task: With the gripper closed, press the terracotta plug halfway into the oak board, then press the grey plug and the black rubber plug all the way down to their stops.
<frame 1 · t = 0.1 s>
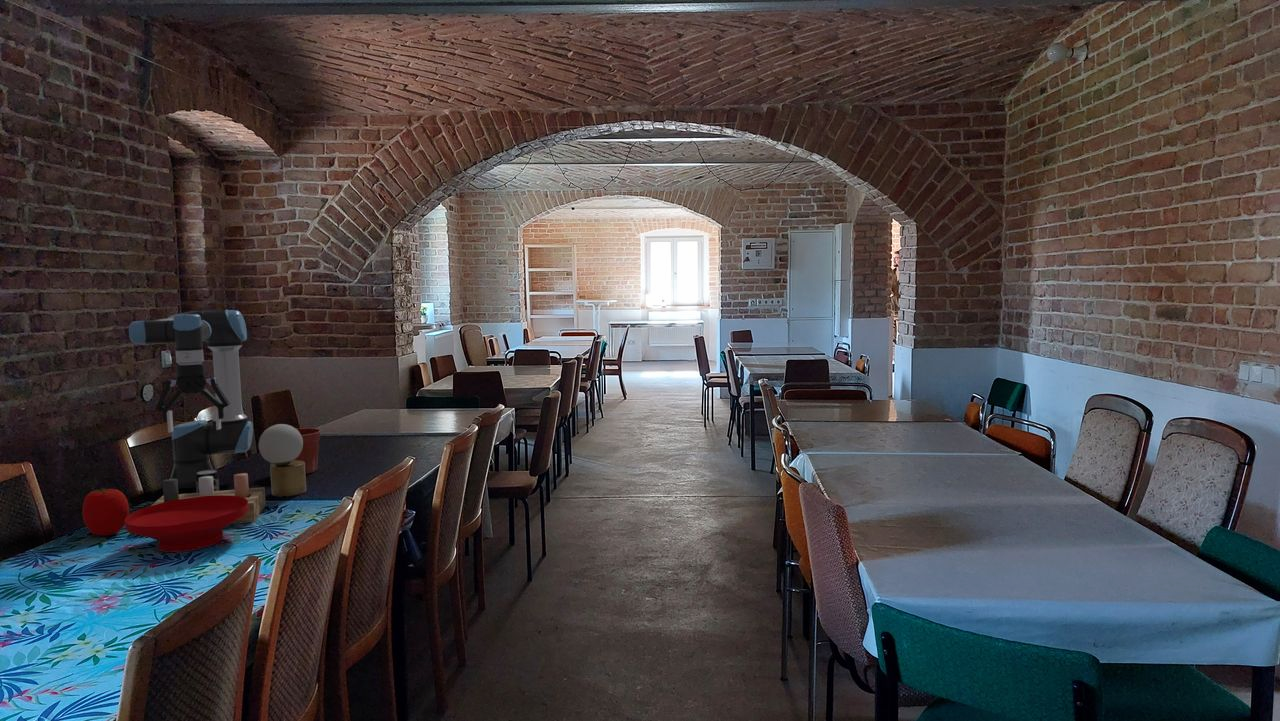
hand: (195, 430, 243), 28 cm above the table, fingers open, 13 cm apart
plug board: (208, 517, 245), on the table
tomato: (107, 534, 230), on the table
plug terracotta: (241, 488, 247), point 9 cm above the table, slide at 0.0 cm
lamp: (285, 494, 272), on the table
bowl: (190, 543, 221), on the table
flower pot: (300, 472, 306), on the table
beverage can: (209, 507, 257), on the table
plug black: (171, 494, 241), point 9 cm above the table, slide at 0.0 cm
plug grey: (206, 491, 244), point 8 cm above the table, slide at 0.0 cm
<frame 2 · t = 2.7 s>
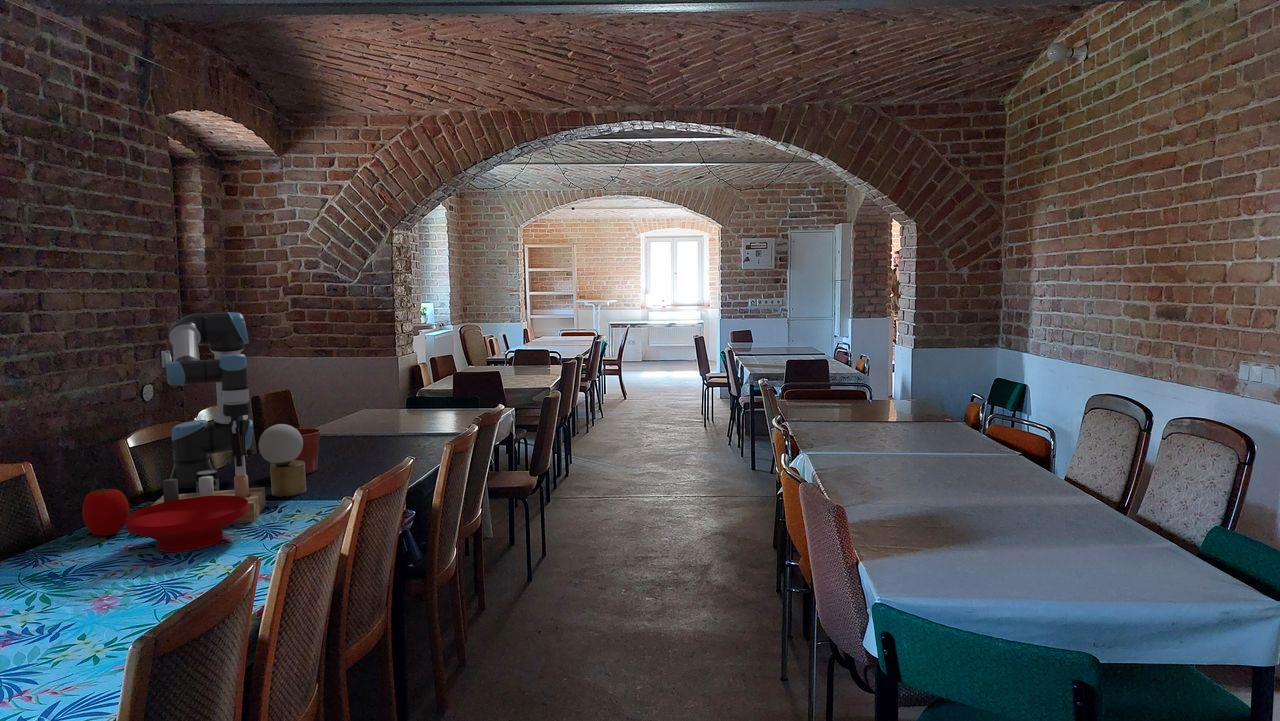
hand: (240, 475, 247), 13 cm above the table, fingers closed
plug terracotta: (241, 490, 247), point 8 cm above the table, slide at 0.5 cm, touching gripper
everything else where it was.
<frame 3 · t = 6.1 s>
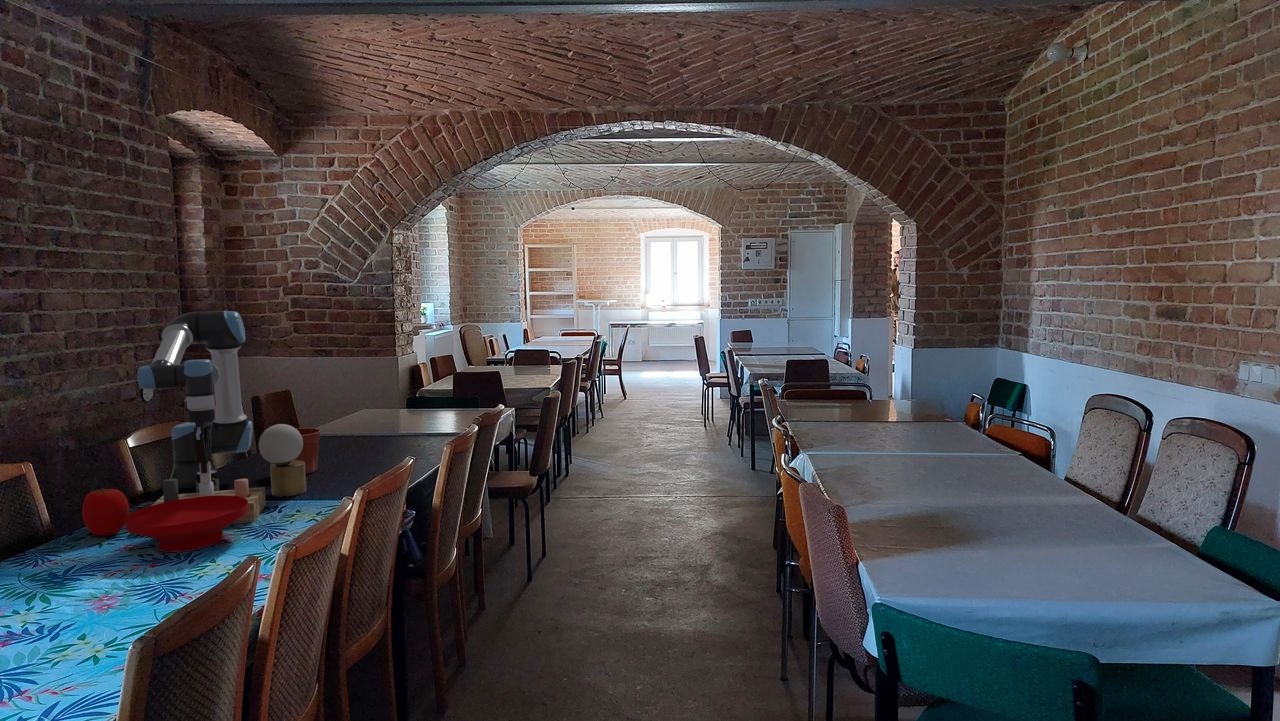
hand: (206, 482, 244), 11 cm above the table, fingers closed
plug terracotta: (241, 494, 247), point 7 cm above the table, slide at 1.8 cm
plug grey: (207, 497, 245), point 7 cm above the table, slide at 1.9 cm, touching gripper
everything else where it was.
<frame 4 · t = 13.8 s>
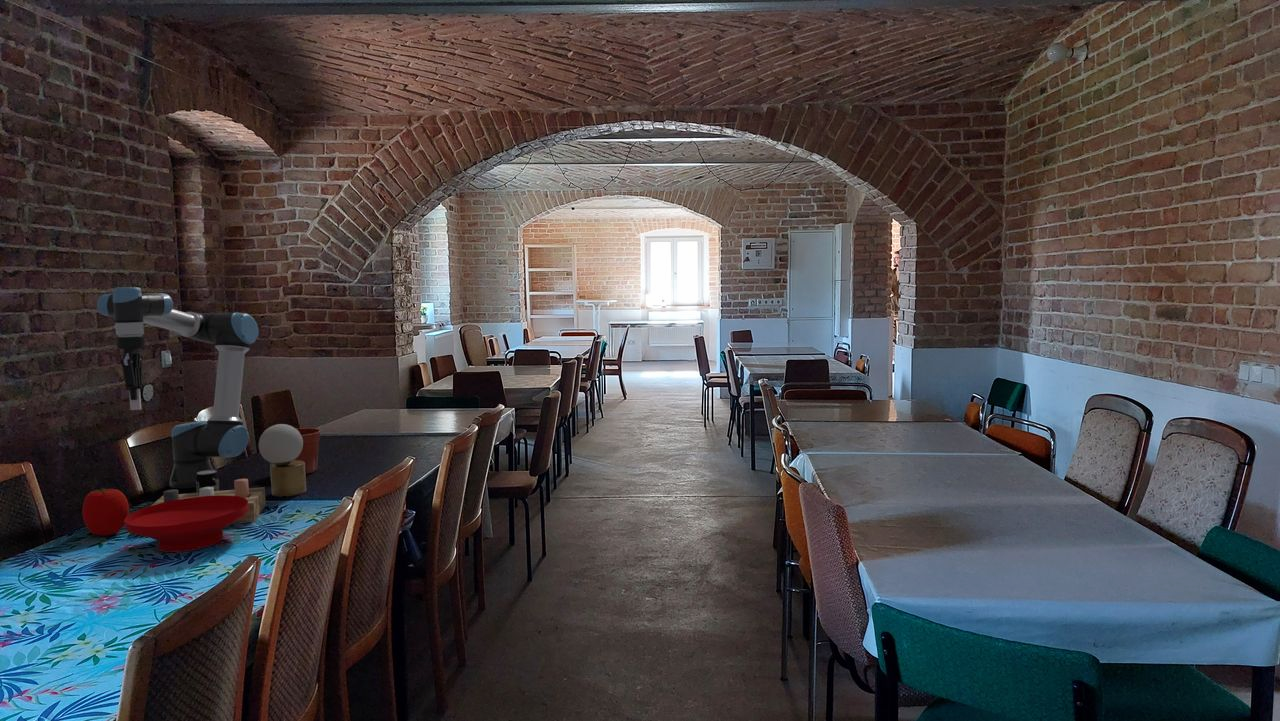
hand: (136, 409, 246), 34 cm above the table, fingers closed
plug black: (171, 505, 242), point 5 cm above the table, slide at 3.5 cm
plug grey: (207, 502, 245), point 5 cm above the table, slide at 3.5 cm
everything else where it was.
at the end: plug terracotta slide at 1.8 cm; plug grey slide at 3.5 cm; plug black slide at 3.5 cm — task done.
